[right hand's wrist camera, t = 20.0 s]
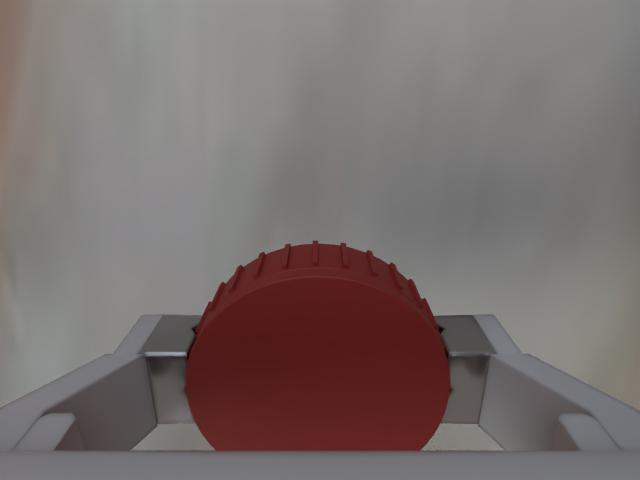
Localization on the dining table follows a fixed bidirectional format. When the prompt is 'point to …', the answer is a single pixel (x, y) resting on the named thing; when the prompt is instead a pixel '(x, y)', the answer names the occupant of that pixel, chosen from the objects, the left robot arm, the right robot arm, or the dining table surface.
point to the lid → (318, 356)
